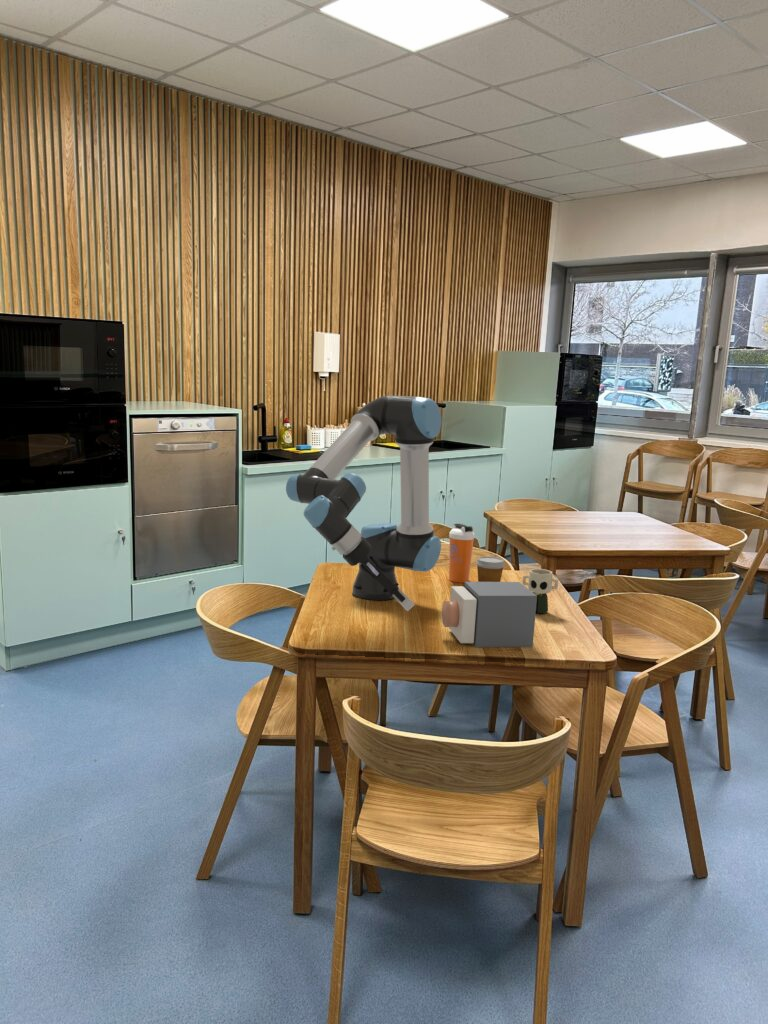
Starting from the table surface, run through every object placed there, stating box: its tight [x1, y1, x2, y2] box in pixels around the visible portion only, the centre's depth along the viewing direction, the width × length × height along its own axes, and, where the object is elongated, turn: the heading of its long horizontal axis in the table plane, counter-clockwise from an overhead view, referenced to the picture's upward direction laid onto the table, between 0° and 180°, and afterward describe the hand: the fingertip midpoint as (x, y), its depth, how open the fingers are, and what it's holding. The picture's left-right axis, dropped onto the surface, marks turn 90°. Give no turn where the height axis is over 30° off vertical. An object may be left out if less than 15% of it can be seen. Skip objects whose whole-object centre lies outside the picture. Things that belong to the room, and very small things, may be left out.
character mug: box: [521, 568, 559, 614], centre depth 234 cm, size 11×7×13 cm, turn 69°
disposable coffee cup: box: [475, 556, 506, 582], centre depth 252 cm, size 10×10×12 cm
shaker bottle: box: [448, 523, 476, 584], centre depth 267 cm, size 9×9×20 cm
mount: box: [463, 581, 537, 648], centre depth 207 cm, size 16×14×14 cm
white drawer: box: [441, 585, 477, 644], centre depth 206 cm, size 21×13×12 cm, turn 100°
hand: (410, 607), depth 202 cm, fingers closed
